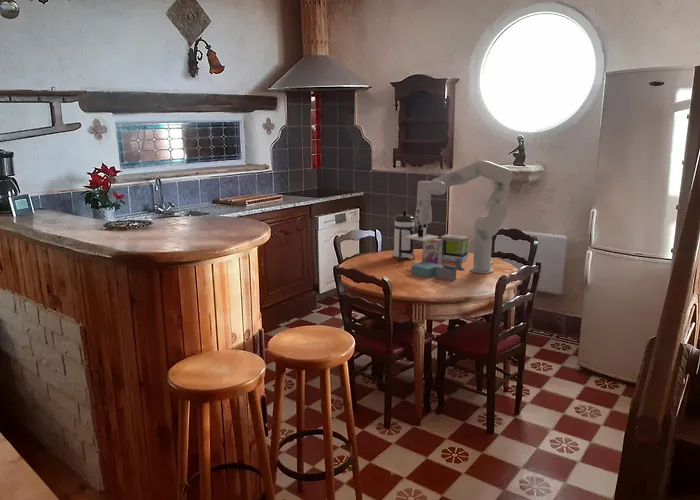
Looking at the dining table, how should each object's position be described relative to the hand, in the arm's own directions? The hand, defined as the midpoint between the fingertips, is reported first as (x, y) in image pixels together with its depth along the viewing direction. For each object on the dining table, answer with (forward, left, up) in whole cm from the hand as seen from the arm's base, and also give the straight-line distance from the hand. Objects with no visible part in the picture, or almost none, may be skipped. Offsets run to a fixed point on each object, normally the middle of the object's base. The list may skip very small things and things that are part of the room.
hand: (422, 235), depth 305 cm
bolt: (-1, +21, -15) cm, 26 cm away
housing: (-1, +9, -22) cm, 23 cm away
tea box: (-38, -4, -22) cm, 44 cm away
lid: (0, 0, -1) cm, 1 cm away
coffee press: (-19, -27, -22) cm, 39 cm away
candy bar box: (-17, -5, -22) cm, 28 cm away
